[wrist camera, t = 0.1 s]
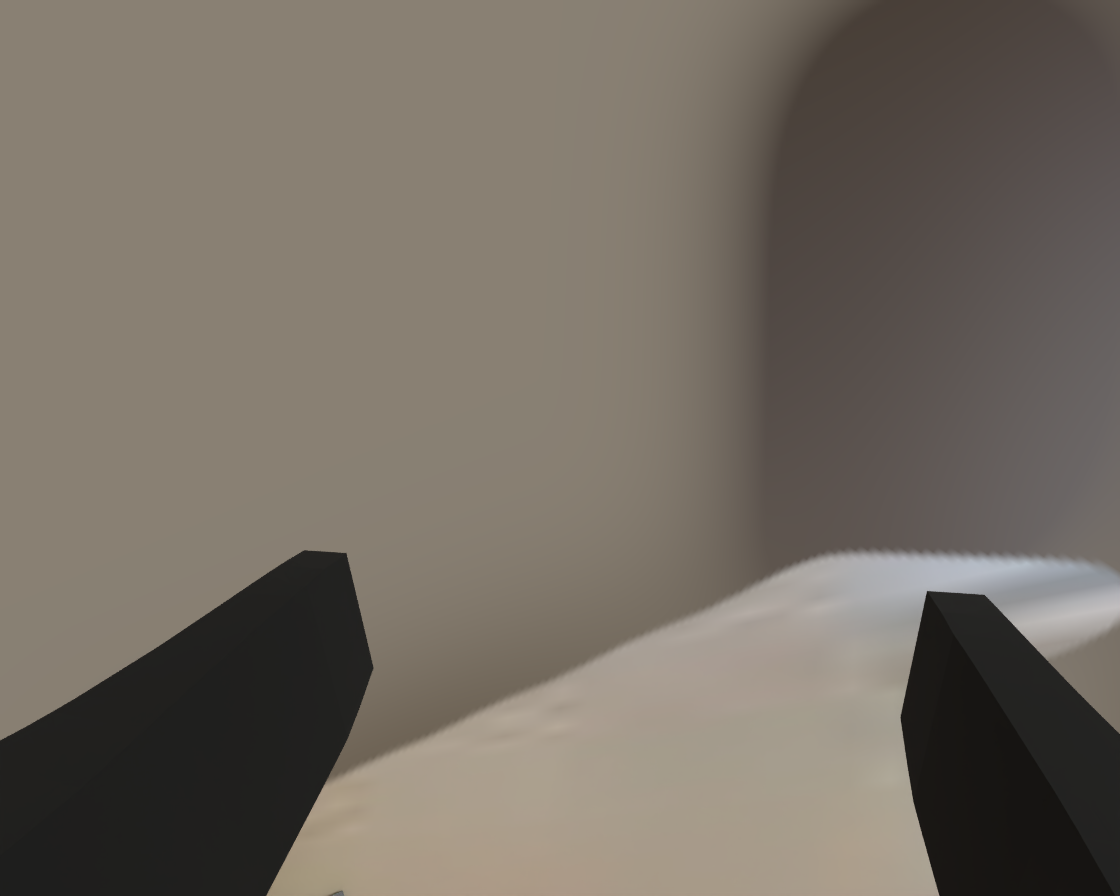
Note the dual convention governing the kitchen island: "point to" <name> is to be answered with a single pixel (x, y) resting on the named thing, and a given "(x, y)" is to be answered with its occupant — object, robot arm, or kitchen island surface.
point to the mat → (339, 894)
